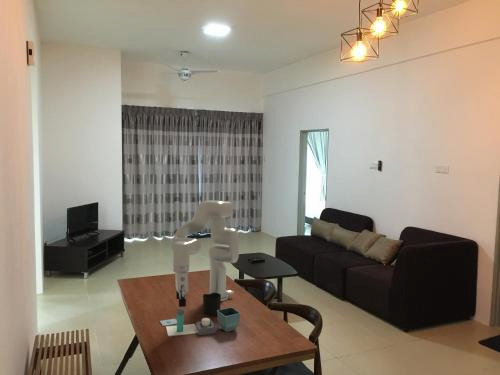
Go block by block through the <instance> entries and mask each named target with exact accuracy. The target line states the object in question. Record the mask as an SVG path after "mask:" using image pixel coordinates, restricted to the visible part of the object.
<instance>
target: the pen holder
mask: <svg viewBox="0 0 500 375" xmlns="http://www.w3.org/2000/svg"><path fill="white" fill-rule="evenodd" d="M202 296H203V297H202V306H203V314H204V315H205V316H207V317H218V316H217V310H221V302H222V301H221V294H219V293H215V292H214V293H211V294H210V293H204V294H203V295H202Z"/></svg>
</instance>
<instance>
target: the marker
mask: <svg viewBox="0 0 500 375" xmlns="http://www.w3.org/2000/svg"><path fill="white" fill-rule="evenodd" d="M184 315H185V309H184V308H177V309H176V320H177V324H176V326H177V332H182V331H183V326H184V325H185V324H184V322H185V320H184V318H185V316H184Z"/></svg>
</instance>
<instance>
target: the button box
mask: <svg viewBox="0 0 500 375" xmlns="http://www.w3.org/2000/svg"><path fill="white" fill-rule="evenodd" d="M195 326H196V329H197V331H198V333H197V334H198V335H199V336H202V335H212V334H216V326H215V324H214V321H213V320H210V326H209V327H202V320H201V321H196V322H195Z"/></svg>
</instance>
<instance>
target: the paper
mask: <svg viewBox="0 0 500 375" xmlns="http://www.w3.org/2000/svg"><path fill="white" fill-rule="evenodd" d="M165 328H166V329H165V330H166V332H167V336H168V337H173V336H174V337H175V336H182V335H185V336H186V335H193V334H198V331H197V329H196V323H192V324H190V323H189V324H184V326H183V331H182V332H177V325H168V326H165Z"/></svg>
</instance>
